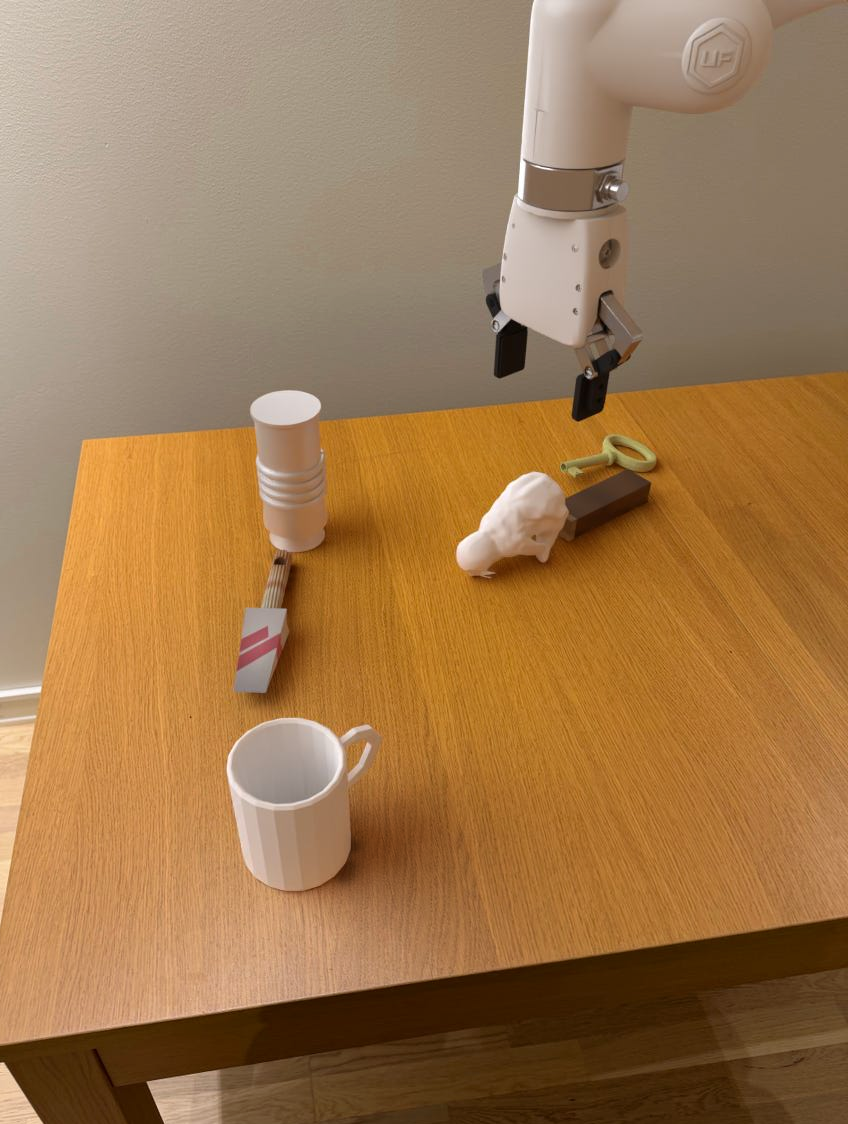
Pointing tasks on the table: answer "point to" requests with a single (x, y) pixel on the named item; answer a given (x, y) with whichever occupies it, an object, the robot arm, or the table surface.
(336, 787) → the mug
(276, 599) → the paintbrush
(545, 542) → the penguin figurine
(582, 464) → the key
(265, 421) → the white ribbed cylinder
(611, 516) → the walnut bar
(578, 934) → the table surface
